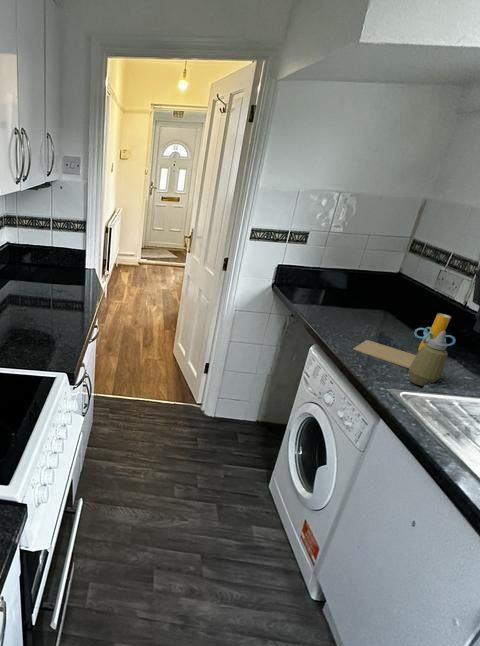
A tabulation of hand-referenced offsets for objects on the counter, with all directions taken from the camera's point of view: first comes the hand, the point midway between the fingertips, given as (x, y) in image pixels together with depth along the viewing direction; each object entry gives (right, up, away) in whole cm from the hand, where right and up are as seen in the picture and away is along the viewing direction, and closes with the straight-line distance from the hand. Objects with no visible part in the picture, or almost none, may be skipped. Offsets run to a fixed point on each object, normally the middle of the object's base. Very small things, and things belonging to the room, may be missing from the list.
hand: (479, 331), depth 109 cm
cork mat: (+5, -8, +43) cm, 44 cm away
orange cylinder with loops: (+23, -8, +46) cm, 51 cm away
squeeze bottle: (+2, -16, +23) cm, 28 cm away
